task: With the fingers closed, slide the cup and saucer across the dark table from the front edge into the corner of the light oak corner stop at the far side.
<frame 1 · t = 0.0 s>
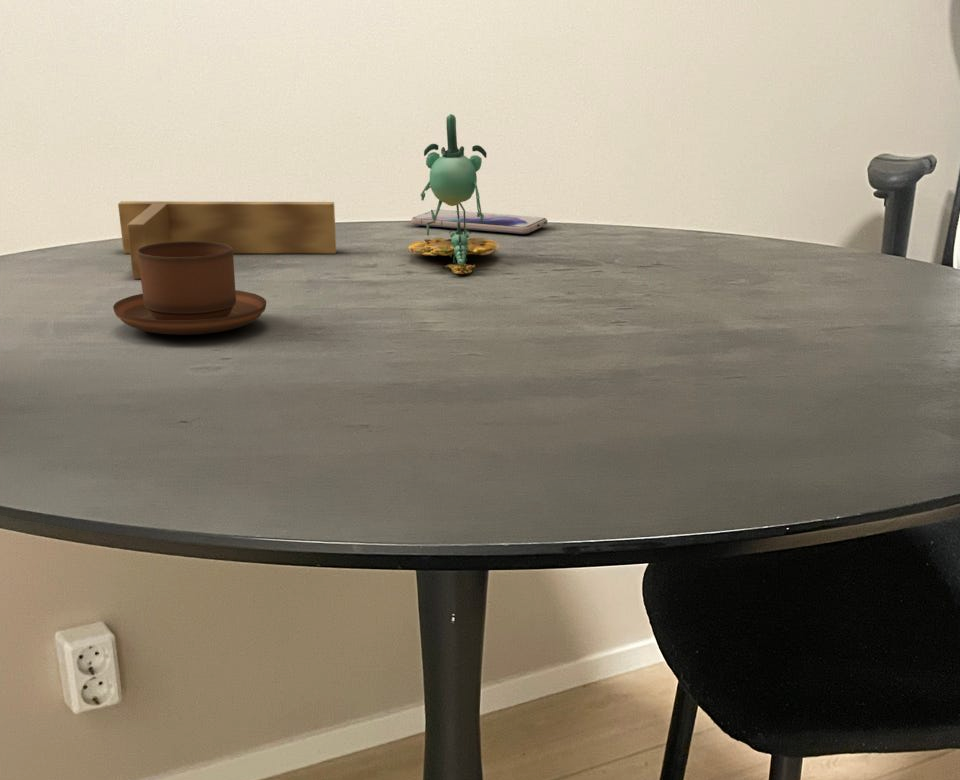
corner stop: (221, 267, 124), on the table
smartphone: (479, 227, 148), on the table
green cartoon figurine: (451, 261, 129), on the table
cup and saucer: (193, 330, 101), on the table
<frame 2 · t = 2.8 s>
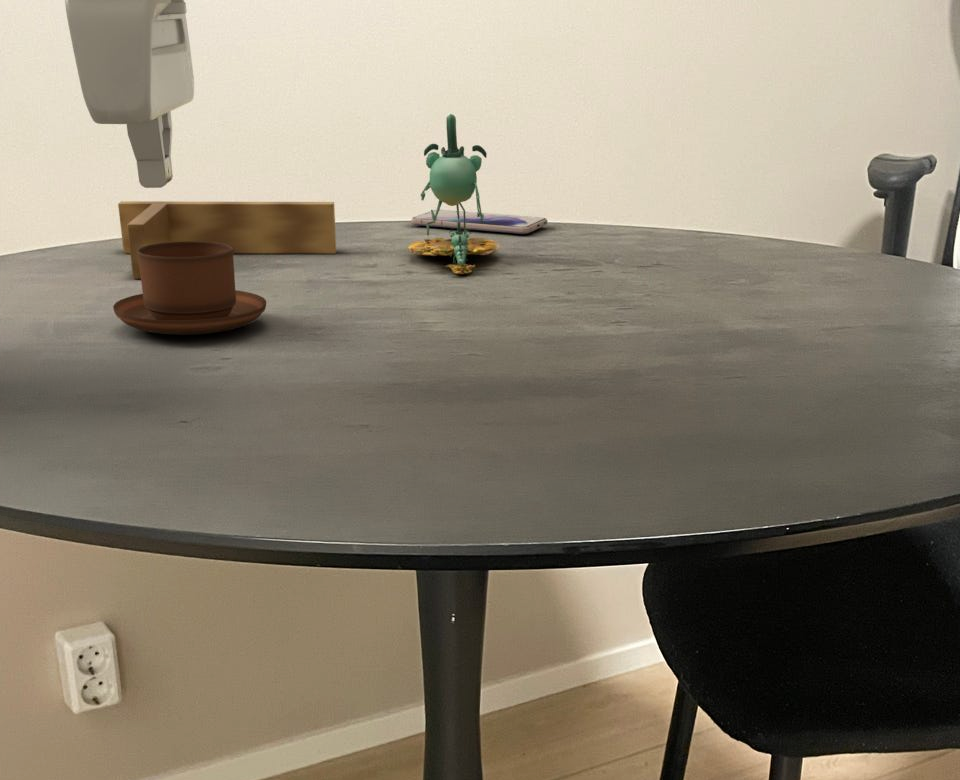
hand: (156, 185, 86), 12 cm above the table, tool pointing down, fingers closed
nothing on the table moved.
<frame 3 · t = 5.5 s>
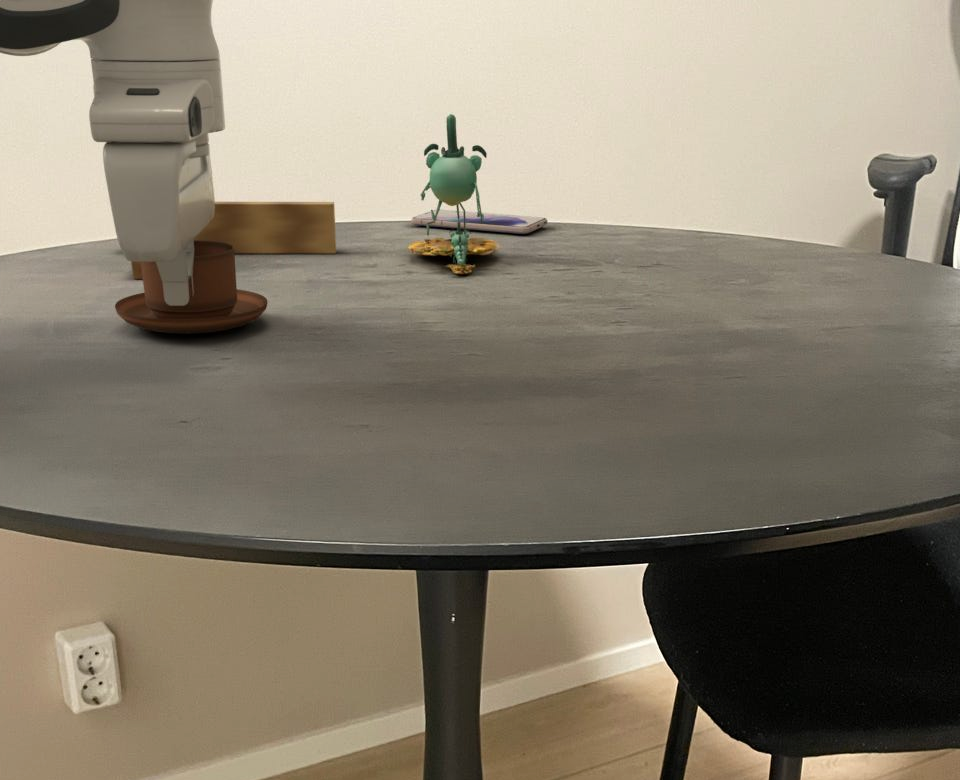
hand: (180, 302, 95), 3 cm above the table, tool pointing down, fingers closed
cup and saucer: (194, 328, 101), on the table, touching gripper
everything else where it was.
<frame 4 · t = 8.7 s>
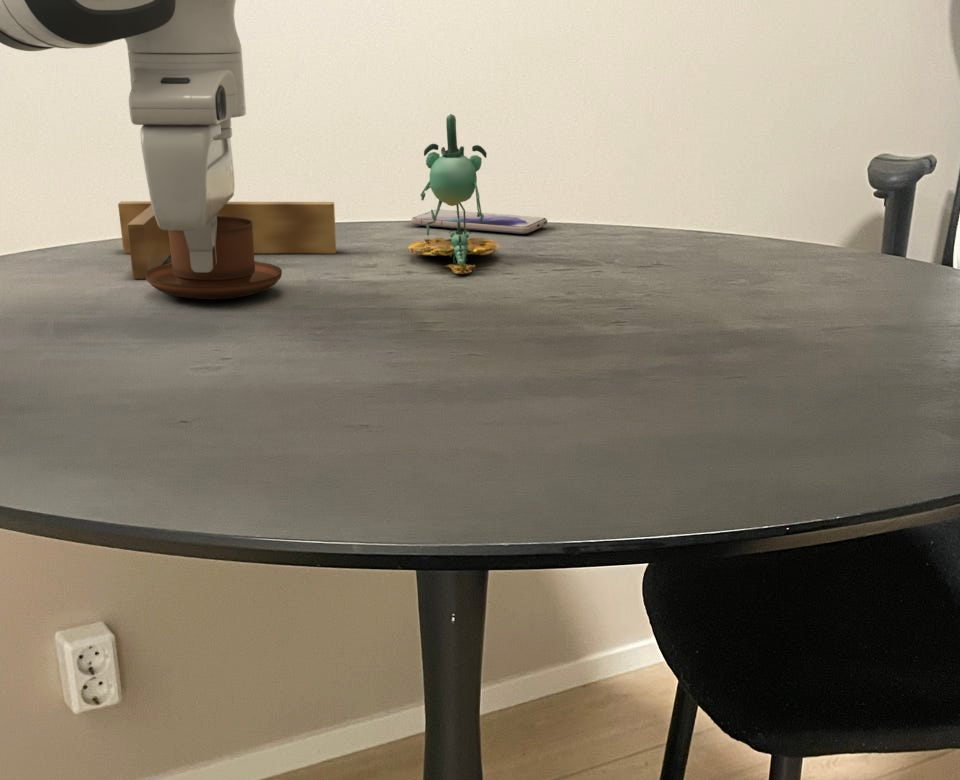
hand: (204, 269, 106), 3 cm above the table, tool pointing down, fingers closed
cup and saucer: (216, 295, 113), on the table, touching gripper
everything else where it was.
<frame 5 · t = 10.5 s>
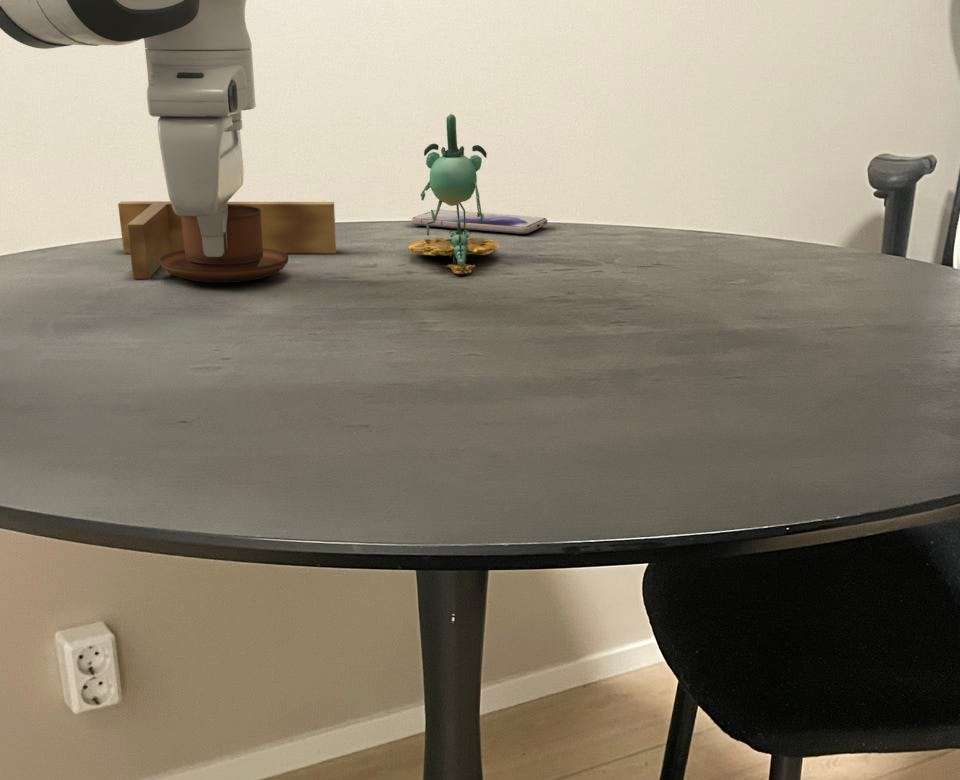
hand: (216, 254, 113), 3 cm above the table, tool pointing down, fingers closed
cup and saucer: (226, 280, 119), on the table, touching gripper
everything else where it was.
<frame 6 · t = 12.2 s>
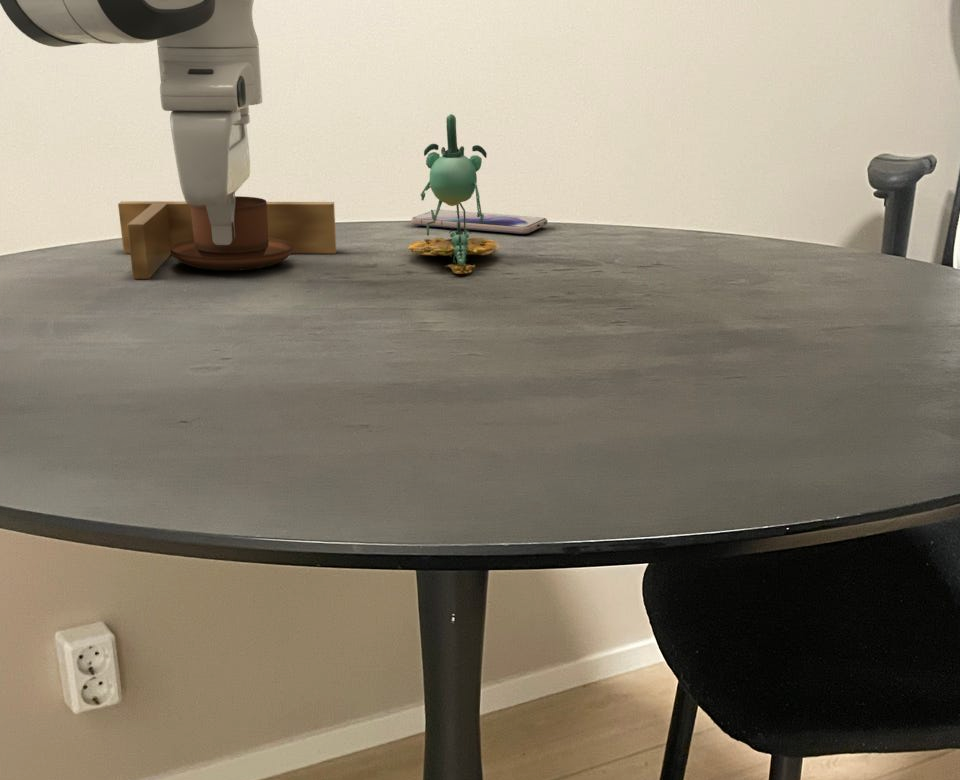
hand: (224, 242, 118), 3 cm above the table, tool pointing down, fingers closed
cup and saucer: (233, 268, 125), on the table, touching gripper
everything else where it was.
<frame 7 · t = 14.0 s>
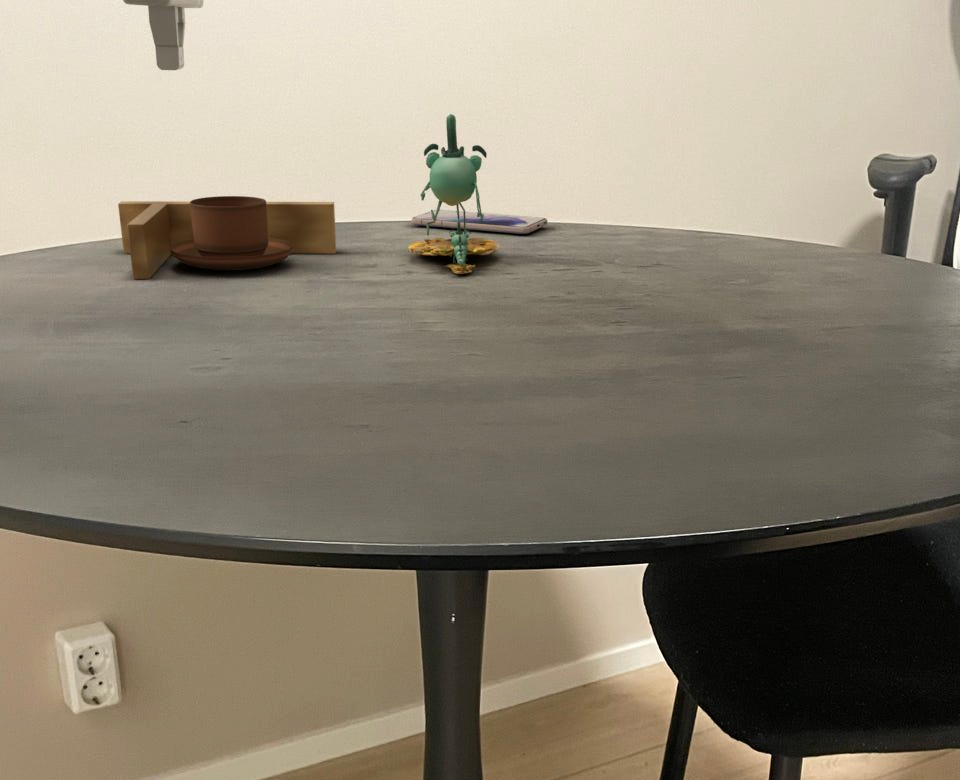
hand: (171, 69, 103), 18 cm above the table, tool pointing down, fingers closed
cup and saucer: (233, 268, 125), on the table
everything else where it was.
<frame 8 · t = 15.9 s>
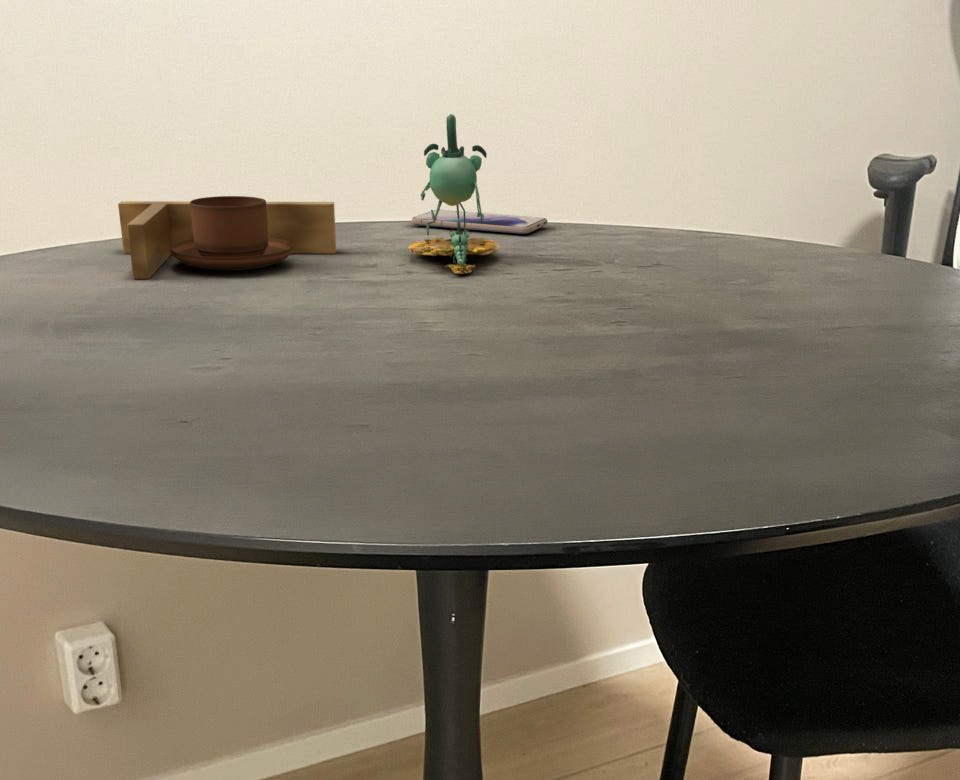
nothing on the table moved.
at the end: cup and saucer 0.3 cm from the target spot on the corner stop, point 0.0 cm above the corner stop's base; cup and saucer moved 26.5 cm from its start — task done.
